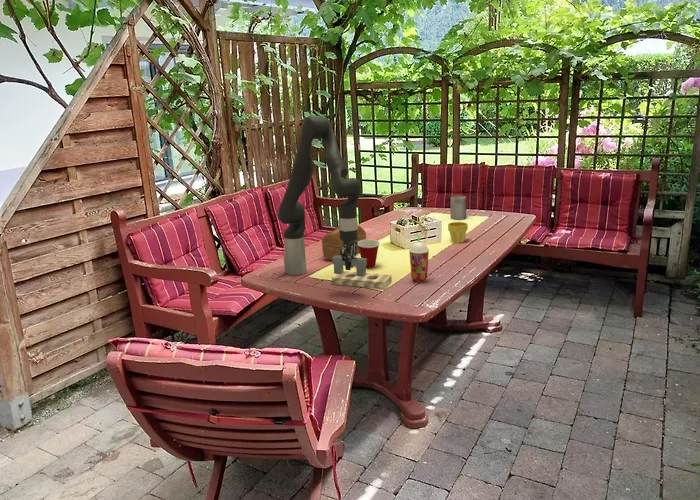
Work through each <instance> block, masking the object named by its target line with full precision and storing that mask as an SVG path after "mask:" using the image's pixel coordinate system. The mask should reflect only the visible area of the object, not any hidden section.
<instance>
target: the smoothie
mask: <svg viewBox="0 0 700 500" xmlns="http://www.w3.org/2000/svg"><path fill="white" fill-rule="evenodd" d="M420 237H421V236H420V235H418V236H417V240H418V241H416V242H414V243H412V245H411V247H409V248H410V249H409V261H410V274H411V275H410V276H411V278H412V281H413V282H416V283H424V282H426V281H427V279H428V270H429V255H430V254H429V253H430V252H429V251H430V249H429V248H428V246H427V245H426V244H425V242H422V241H421V239H420Z"/></svg>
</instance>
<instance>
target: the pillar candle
mask: <svg viewBox="0 0 700 500" xmlns="http://www.w3.org/2000/svg"><path fill="white" fill-rule="evenodd" d="M450 219H451V220H453V221H457V220H458V221H463V220H466V219H467V196H465V195H459V194H458V195H452V196H450Z"/></svg>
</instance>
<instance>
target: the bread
mask: <svg viewBox="0 0 700 500" xmlns="http://www.w3.org/2000/svg"><path fill="white" fill-rule="evenodd" d="M361 240H367V233H366V230H365V229H364V228H363V227H361V226H360V225H358V239H357V240H355V242H358V241H361ZM321 246H322V255H323V258H324V259H325V260H327V261H331V262H333V260H332V257H334V256H335V255H336V256H341V253H340V249H343V241H342V240H340V235H339V227H337V228H335V229H334V230H332V231H329V232H327V233H326V234H325V235H324V236H323V237H322V239H321ZM358 253H360V250H359V247H358V245H357V253H356V254H358Z"/></svg>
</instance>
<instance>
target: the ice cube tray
mask: <svg viewBox="0 0 700 500" xmlns="http://www.w3.org/2000/svg"><path fill="white" fill-rule="evenodd" d="M391 283H393V275H392V274H382V273H380V274H379V273H368V272H366V275H365V276H364V277H360V276H356V271H349V270H344V272H343V273H342V274H335V275H333V276H332V277H331V285H335V286H344V285H345V286H346V287H347V286H348V287H355V288H357V287H359V288H366V289H367V288H368V289H377V290H378V289H379V290H385V289H386V288H387V287H388V286H390V284H391Z"/></svg>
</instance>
